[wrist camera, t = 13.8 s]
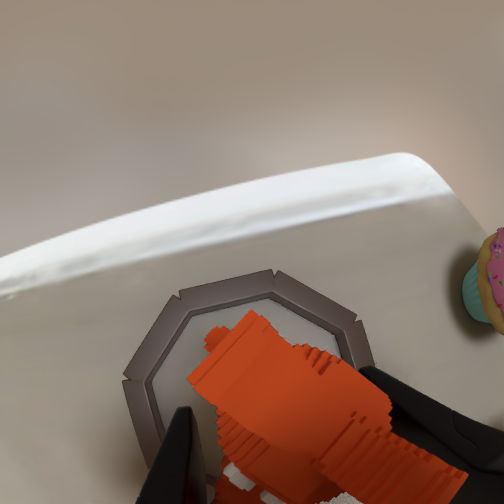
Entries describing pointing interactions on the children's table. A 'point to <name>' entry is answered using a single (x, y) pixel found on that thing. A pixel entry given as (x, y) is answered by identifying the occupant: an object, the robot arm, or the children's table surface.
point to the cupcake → (487, 283)
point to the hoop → (218, 298)
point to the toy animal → (307, 427)
